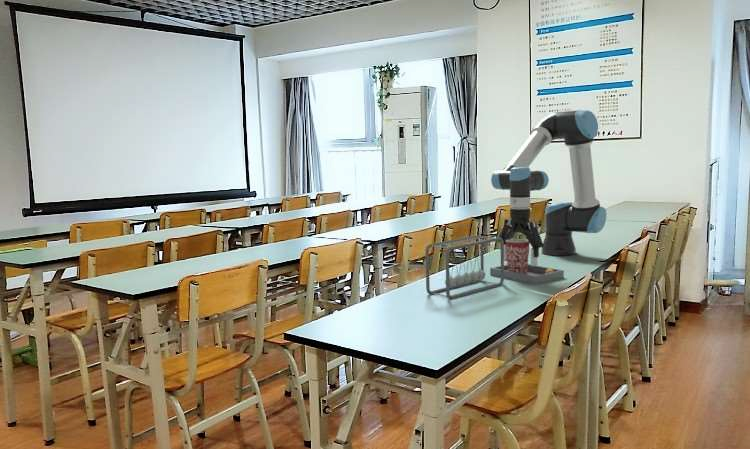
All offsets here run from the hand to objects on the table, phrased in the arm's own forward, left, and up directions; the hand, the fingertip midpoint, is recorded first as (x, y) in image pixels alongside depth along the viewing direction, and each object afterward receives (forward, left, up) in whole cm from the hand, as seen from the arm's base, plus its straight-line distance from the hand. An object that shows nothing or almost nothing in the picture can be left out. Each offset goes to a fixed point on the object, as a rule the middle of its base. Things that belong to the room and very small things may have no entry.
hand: (520, 263), depth 228 cm
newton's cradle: (+30, +1, -5) cm, 30 cm away
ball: (-5, +10, -5) cm, 12 cm away
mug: (0, 0, -5) cm, 5 cm away
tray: (0, +3, -5) cm, 6 cm away
